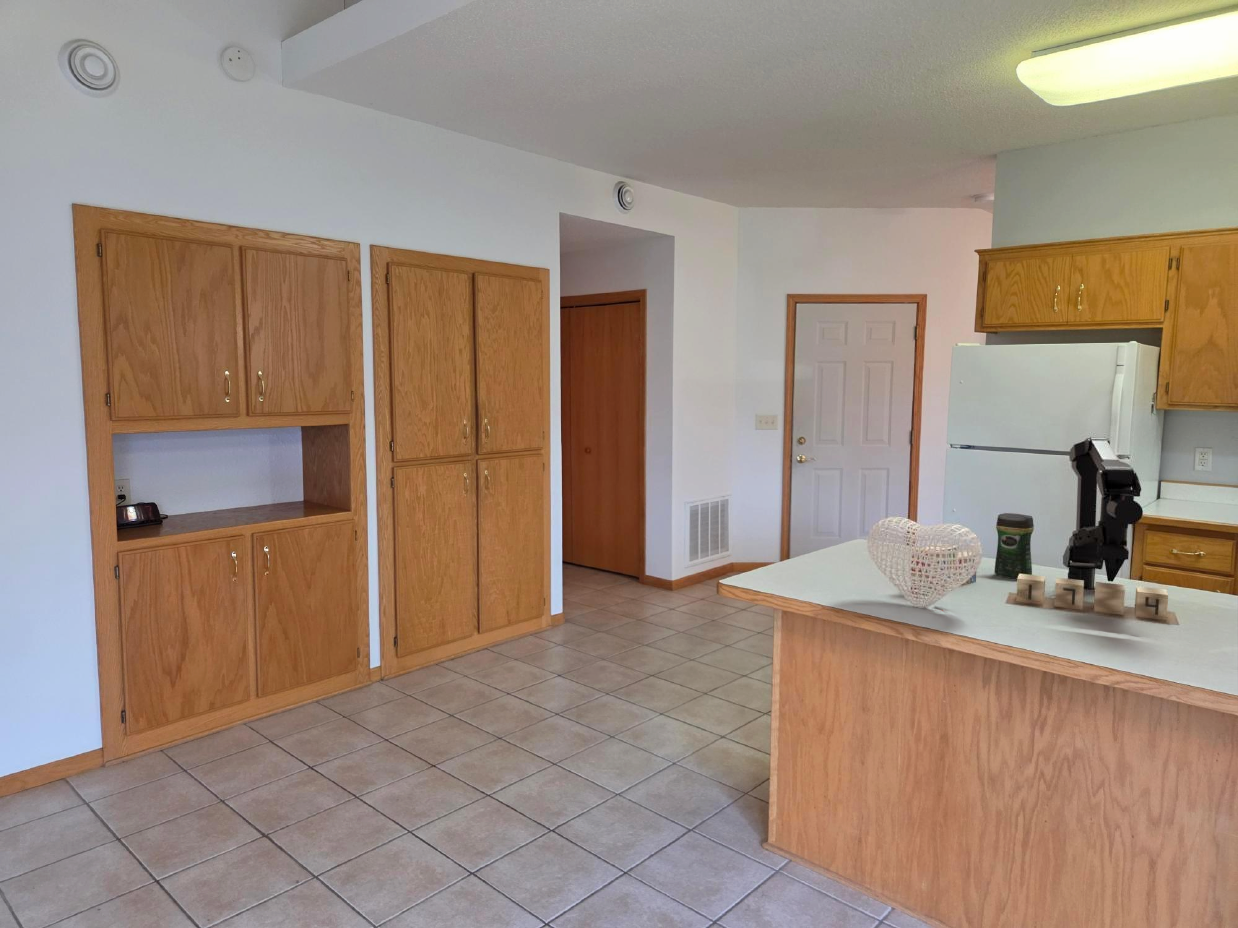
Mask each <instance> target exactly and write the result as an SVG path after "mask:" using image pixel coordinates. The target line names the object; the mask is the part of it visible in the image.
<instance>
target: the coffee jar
mask: <svg viewBox="0 0 1238 928" xmlns="http://www.w3.org/2000/svg"><path fill="white" fill-rule="evenodd" d="M996 519H997V520H996V526H995V528H996V529H995V530H996V532H997V547H996V555H995V561H994V574H995V575H997V576H999V577H1002V578H1007V577H1009V578H1008V579H1014V580H1015V579H1016V580H1017V578H1018V575H1019V574H1028V575H1033V565H1032V564H1033V563H1032V551H1031V547H1032V546H1031V539H1032V534H1033V532H1034V529H1035V527H1034V526H1035V525H1034V518H1033V516H1032V515H1027V514H1020V513H1012V512H1011V513H1010V512H1009V513H1007V512H1004V513H1000V514H998V516H997V518H996Z"/></svg>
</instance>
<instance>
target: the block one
mask: <svg viewBox="0 0 1238 928" xmlns="http://www.w3.org/2000/svg"><path fill="white" fill-rule="evenodd" d="M1045 588H1046V576H1044V575H1037V574H1035V575H1034V574H1032V575H1028V574H1019V575H1018V578H1017V579H1016V593H1017V596H1016V602H1024V603H1032V604H1041V605H1043V602H1044V597H1045V591H1046V590H1045Z"/></svg>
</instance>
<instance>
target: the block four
mask: <svg viewBox="0 0 1238 928" xmlns="http://www.w3.org/2000/svg"><path fill="white" fill-rule="evenodd" d="M1134 601H1135V602H1134V607H1135V615H1136V616H1137V617H1145V618H1153V619H1161V620H1167V611H1168V602H1169V594H1168V592H1167V589H1165V588H1158V587H1157V588H1155V587H1149V586H1147V587H1146V586H1139V585H1136V586H1135V600H1134Z"/></svg>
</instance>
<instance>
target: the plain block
mask: <svg viewBox="0 0 1238 928" xmlns="http://www.w3.org/2000/svg"><path fill="white" fill-rule="evenodd" d="M1094 587H1095V590H1094V598H1093V599H1094V611H1097V612H1105V613H1113V614H1121V615H1123V613H1124V606H1125V594H1126V592H1125V591H1126V588H1125V584H1119V583H1112V582H1111V583H1109V582H1102V581H1094Z"/></svg>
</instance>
